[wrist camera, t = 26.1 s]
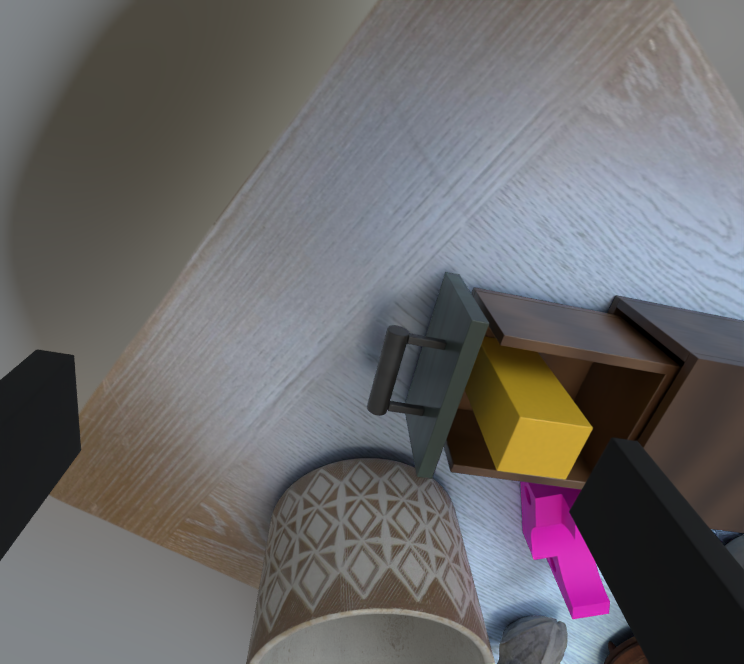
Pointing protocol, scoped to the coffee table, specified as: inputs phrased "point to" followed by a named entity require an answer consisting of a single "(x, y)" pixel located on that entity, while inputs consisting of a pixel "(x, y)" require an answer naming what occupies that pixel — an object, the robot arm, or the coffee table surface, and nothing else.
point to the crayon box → (525, 412)
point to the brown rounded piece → (626, 653)
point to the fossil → (533, 641)
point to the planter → (367, 573)
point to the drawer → (529, 332)
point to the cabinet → (697, 407)
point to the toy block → (562, 547)
